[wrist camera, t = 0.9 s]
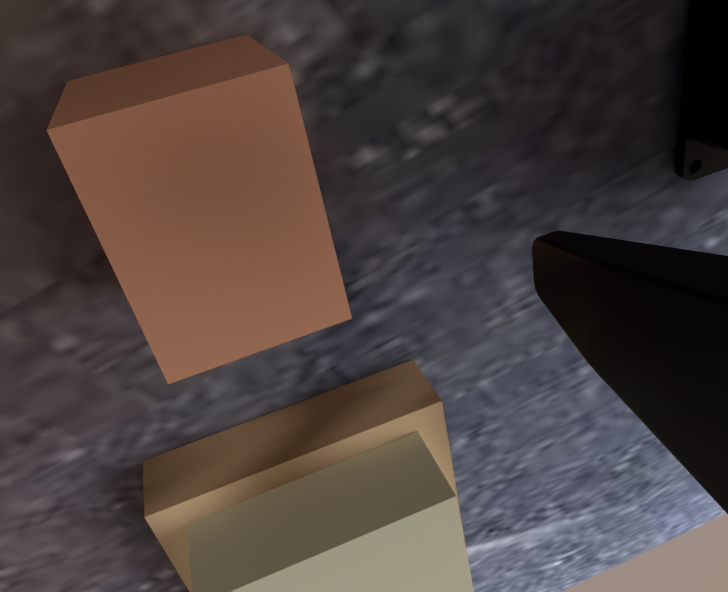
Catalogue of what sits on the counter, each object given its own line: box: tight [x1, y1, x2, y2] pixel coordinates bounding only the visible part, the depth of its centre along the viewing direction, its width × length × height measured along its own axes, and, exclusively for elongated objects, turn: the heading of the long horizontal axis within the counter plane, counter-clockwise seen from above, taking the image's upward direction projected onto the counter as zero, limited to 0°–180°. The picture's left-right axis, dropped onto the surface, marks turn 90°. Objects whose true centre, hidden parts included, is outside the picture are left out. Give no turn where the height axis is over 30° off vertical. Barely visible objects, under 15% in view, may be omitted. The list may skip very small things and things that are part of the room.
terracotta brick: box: [47, 34, 352, 384], centre depth 15 cm, size 4×6×5 cm
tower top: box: [186, 431, 474, 592], centre depth 21 cm, size 8×8×3 cm
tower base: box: [143, 360, 467, 592], centre depth 24 cm, size 10×10×3 cm
